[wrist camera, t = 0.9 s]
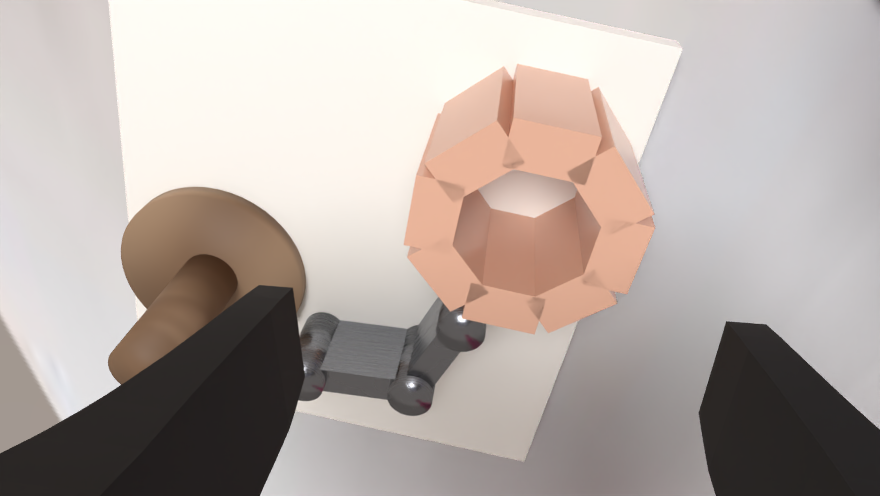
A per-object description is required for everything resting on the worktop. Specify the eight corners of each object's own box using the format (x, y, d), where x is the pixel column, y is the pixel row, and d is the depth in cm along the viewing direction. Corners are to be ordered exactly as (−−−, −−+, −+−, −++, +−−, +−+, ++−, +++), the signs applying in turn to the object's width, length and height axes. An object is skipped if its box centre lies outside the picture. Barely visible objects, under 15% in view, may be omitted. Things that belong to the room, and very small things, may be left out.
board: (677, 40, 17) (682, 48, 16) (524, 445, 26) (524, 461, 25) (118, -82, 17) (101, -80, 16) (152, 362, 26) (142, 377, 25)
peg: (312, 210, 20) (252, 308, 16) (300, 353, 23) (247, 468, 19) (123, 168, 20) (12, 255, 16) (137, 317, 23) (47, 423, 19)
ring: (655, 93, 17) (685, 155, 14) (591, 264, 20) (603, 350, 17) (449, 48, 17) (429, 98, 14) (416, 225, 20) (392, 303, 17)
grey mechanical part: (495, 264, 20) (490, 319, 18) (464, 374, 23) (456, 435, 21) (314, 224, 20) (285, 273, 18) (304, 339, 23) (277, 395, 21)
